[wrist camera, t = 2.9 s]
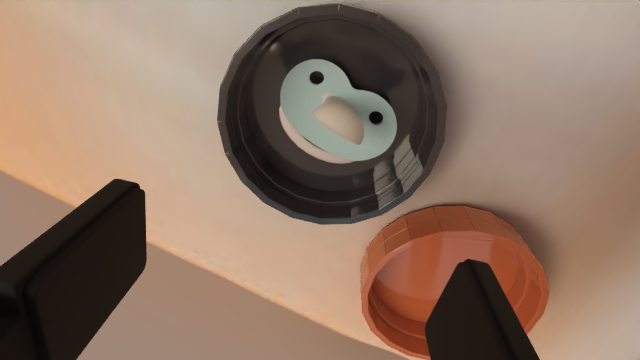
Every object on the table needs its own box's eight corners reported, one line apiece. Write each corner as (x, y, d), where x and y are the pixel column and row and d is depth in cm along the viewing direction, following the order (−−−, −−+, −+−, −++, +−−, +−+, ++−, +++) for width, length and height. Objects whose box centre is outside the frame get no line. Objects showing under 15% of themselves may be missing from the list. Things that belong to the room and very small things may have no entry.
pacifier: (351, 175, 25) (406, 108, 22) (348, 229, 19) (420, 149, 17) (262, 120, 23) (308, 40, 21) (232, 160, 18) (289, 60, 15)
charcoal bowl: (467, 33, 20) (487, 40, 17) (395, 214, 26) (401, 243, 23) (248, -22, 20) (228, -25, 17) (227, 175, 26) (210, 198, 23)
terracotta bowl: (559, 225, 25) (588, 257, 22) (482, 338, 32) (496, 375, 29) (388, 184, 25) (393, 211, 22) (344, 307, 31) (342, 341, 28)
